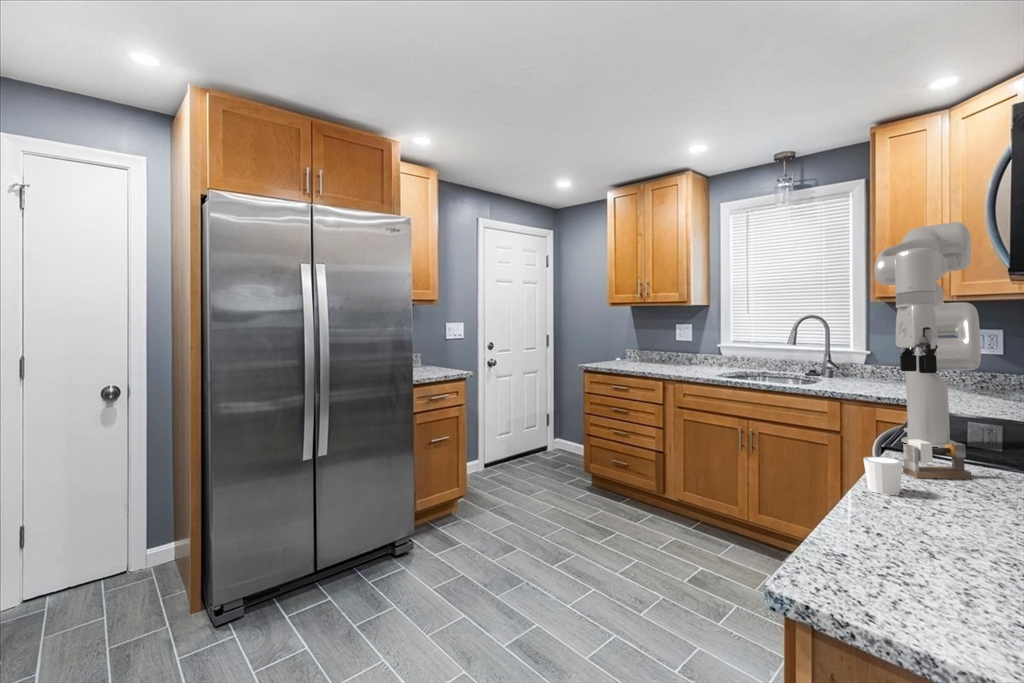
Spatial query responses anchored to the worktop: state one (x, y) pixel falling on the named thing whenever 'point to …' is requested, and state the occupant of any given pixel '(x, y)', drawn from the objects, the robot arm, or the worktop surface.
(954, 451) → the wooden stand
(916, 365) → the robot arm
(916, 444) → the sleeve
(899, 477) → the shot glass
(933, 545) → the worktop surface
